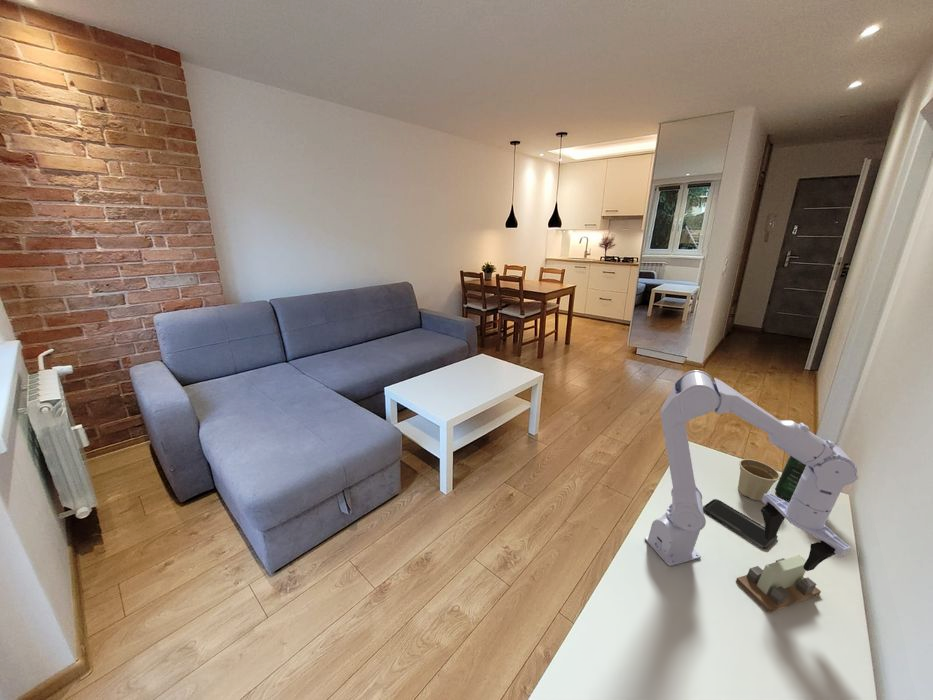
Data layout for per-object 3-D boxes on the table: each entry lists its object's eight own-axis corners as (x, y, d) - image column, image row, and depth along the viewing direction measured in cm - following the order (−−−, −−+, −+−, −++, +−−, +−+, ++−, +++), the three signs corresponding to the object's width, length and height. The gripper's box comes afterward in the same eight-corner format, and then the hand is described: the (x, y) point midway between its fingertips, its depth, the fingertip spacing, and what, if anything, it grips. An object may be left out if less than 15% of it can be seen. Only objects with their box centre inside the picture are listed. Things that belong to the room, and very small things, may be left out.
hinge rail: (768, 612, 73) (774, 600, 72) (735, 581, 79) (740, 569, 78) (819, 594, 77) (825, 582, 76) (784, 566, 84) (789, 554, 82)
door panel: (766, 594, 76) (775, 573, 74) (756, 585, 78) (765, 565, 76) (799, 583, 79) (809, 563, 76) (789, 575, 80) (799, 555, 78)
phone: (715, 497, 103) (779, 535, 91) (714, 501, 103) (777, 539, 91) (701, 507, 99) (765, 548, 87) (700, 511, 99) (764, 552, 87)
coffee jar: (803, 510, 101) (828, 454, 95) (770, 492, 107) (791, 439, 101) (817, 499, 106) (842, 445, 99) (784, 482, 112) (806, 430, 106)
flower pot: (723, 485, 109) (731, 461, 107) (745, 480, 112) (754, 456, 109) (754, 507, 101) (764, 482, 98) (778, 501, 104) (788, 476, 101)
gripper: (872, 525, 66) (842, 579, 70) (787, 474, 79) (766, 522, 84) (846, 533, 64) (817, 588, 69) (763, 479, 77) (743, 528, 82)
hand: (787, 552), depth 76 cm, fingers open, 7 cm apart
